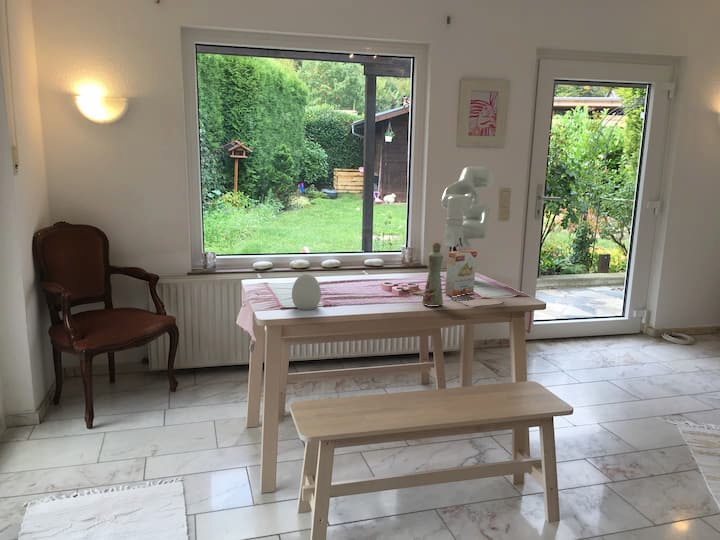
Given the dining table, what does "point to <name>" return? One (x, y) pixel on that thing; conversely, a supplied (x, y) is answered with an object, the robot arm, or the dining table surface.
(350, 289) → the dining table surface
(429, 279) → the bottle
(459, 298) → the mat
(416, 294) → the turner
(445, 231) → the robot arm
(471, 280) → the cracker box
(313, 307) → the decorative egg
